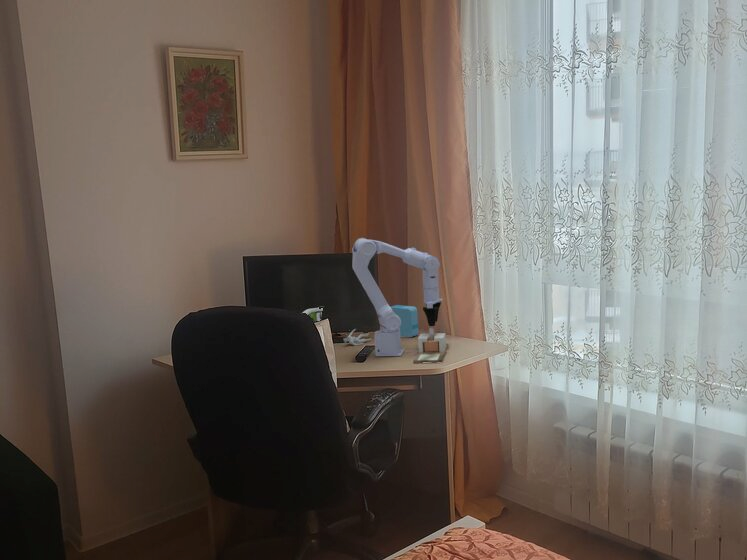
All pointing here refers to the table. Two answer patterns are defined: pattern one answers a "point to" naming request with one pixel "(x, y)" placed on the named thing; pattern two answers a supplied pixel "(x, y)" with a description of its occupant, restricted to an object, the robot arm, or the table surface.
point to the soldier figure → (356, 339)
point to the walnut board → (430, 356)
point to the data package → (407, 320)
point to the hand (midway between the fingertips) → (433, 323)
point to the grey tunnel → (438, 337)
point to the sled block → (431, 342)
